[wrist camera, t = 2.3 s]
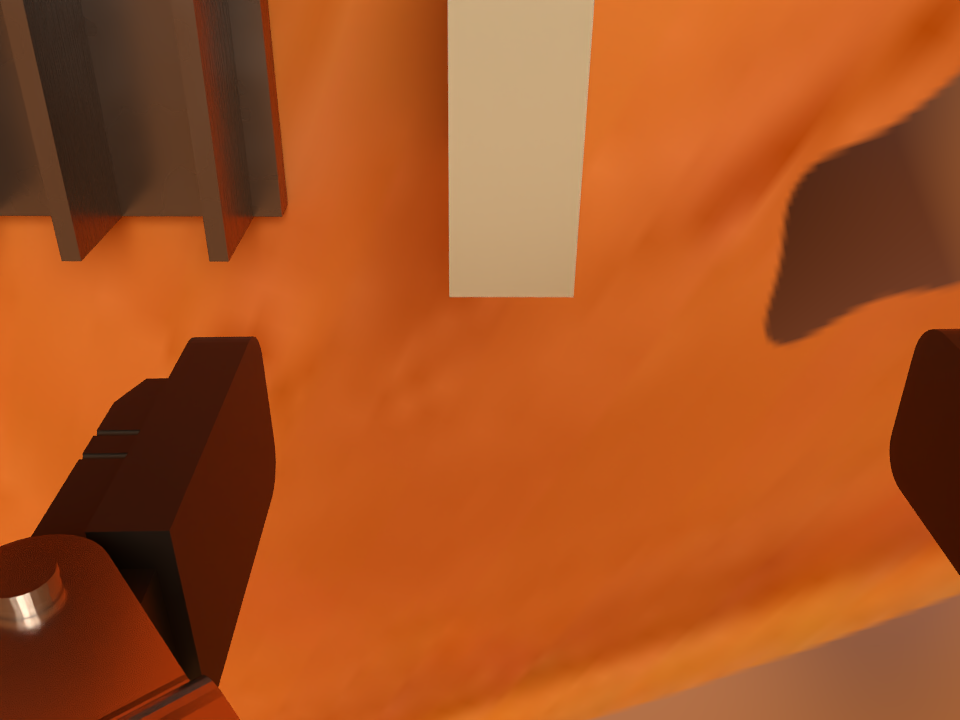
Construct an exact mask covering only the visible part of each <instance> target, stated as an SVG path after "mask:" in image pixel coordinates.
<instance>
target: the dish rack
mask: <svg viewBox="0 0 960 720" xmlns="http://www.w3.org/2000/svg"><path fill="white" fill-rule="evenodd" d="M287 205H288V204H287V194H286V184H285V174H284V164H283V153H282V143H281V133H280V123H279V113H278V103H277V92H276V82H275V72H274V62H273V52H272V42H271V31H270V21H269V11H268V1H267V0H0V216H51V217H52V221H53V226H54V230H55V234H56V238H57V243H58V247H59V251H60V255H61V260H62V261H82V260H83V259H84V258H85V256H86V255H87V254H88V253H89V252H90V251H91V250H92V249H93V248H94V247H95V246H96V244H97V243H98V242H99V241H100V240H101V239H102V238H103V237H104V236H105V235H106V233H107V232H108V231H109V230H110V229H111V228H112V227H113V226H114V225H115V224H116V223H117V221H118V220H119V219H120V218H121V217H122V216H203V221H204V227H205V234H206V241H207V248H208V254H209V261H229V260H230V258H231V256H232V255H233V253H234V251H235V249H236V247H237V246H238V244H239V242H240V240H241V238H242V237H243V235H244V233H245V231H246V229H247V228H248V226H249V224H250V222H251V220H252V219H253V217H254V216H265V217H282V216H283V213H284V211H285V209H286V207H287Z"/></svg>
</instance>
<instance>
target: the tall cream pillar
mask: <svg viewBox="0 0 960 720" xmlns="http://www.w3.org/2000/svg"><path fill="white" fill-rule="evenodd" d="M593 13H594V0H448V155H449V297H574V282H575V268H576V254H577V240H578V226H579V211H580V197H581V183H582V169H583V155H584V141H585V126H586V112H587V98H588V84H589V70H590V55H591V41H592V27H593Z"/></svg>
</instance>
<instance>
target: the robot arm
mask: <svg viewBox="0 0 960 720" xmlns="http://www.w3.org/2000/svg"><path fill="white" fill-rule="evenodd" d="M890 463H891V469H892V473H893V476H894V479H895V481H896V484H897V486H898V487H899V489H900V490H901V492H902V493H903V495H904V496H905V498H906V499H907V500H908V502H909V503H910V505H911V506H912V508H913V509H914V510H915V512H916V513H917V515H918V516H919V518H920V519H921V521H922V522H923V523H924V525H925V526H926V528H927V529H928V531H929V532H930V533H931V535H932V536H933V538H934V539H935V541H936V542H937V543H938V545H939V546H940V548H941V549H942V551H943V552H944V554H945V555H946V556H947V558H948V559H949V561H950V562H951V564H952V565H953V566H954V568H955V569H956V571H957V572H958V574H959V575H960V329H932V330H928V331H927V332H925V333H924V334H923V335H922V336H921V338H920V339H919V341H918V343H917V345H916V347H915V350H914V354H913V358H912V361H911V365H910V369H909V372H908V376H907V380H906V383H905V387H904V391H903V394H902V398H901V402H900V405H899V409H898V413H897V416H896V420H895V424H894V427H893V431H892V435H891V440H890ZM275 468H276V459H275V444H274V436H273V429H272V422H271V415H270V408H269V401H268V394H267V387H266V379H265V372H264V365H263V358H262V352H261V348H260V345H259V342H258V340H257V339H256V337H194V338H191V339H190V340H189V341H188V343H187V345H186V347H185V349H184V350H183V352H182V354H181V356H180V358H179V360H178V361H177V363H176V365H175V367H174V369H173V371H172V372H171V374H170V376H169V378H159V379H145V380H144V381H143V382H141V383H140V384H139V385H137V386H136V387H135V388H133V389H132V390H131V391H129V392H128V393H126V394H125V395H124V396H122V397H121V398H120V399H118V400H117V401H116V402H114V404H113V405H112V407H111V408H110V410H109V412H108V413H107V415H106V416H105V418H104V420H103V421H102V423H101V425H100V426H99V428H98V429H97V436H93V437H92V439H91V441H90V442H89V444H88V446H87V447H86V449H85V450H84V452H83V459H79V460H78V462H77V463H76V465H75V467H74V468H73V470H72V471H71V473H70V475H69V476H68V478H67V480H66V481H65V483H64V484H63V486H62V488H61V489H60V491H59V492H58V494H57V496H56V497H55V499H54V501H53V502H52V504H51V505H50V507H49V509H48V510H47V512H46V514H45V515H44V517H43V518H42V520H41V522H40V523H39V525H38V526H37V528H36V530H35V531H34V533H33V535H32V536H31V537H29V538H25V539H21V540H17V541H14V542H11V543H9V544H6V545H3V546H1V547H0V720H240V719H239V717H238V716H237V714H236V713H235V711H234V710H233V708H232V707H231V705H230V704H229V702H228V701H227V700H226V698H225V697H224V695H223V694H222V692H221V691H220V689H219V688H218V686H219V682H220V679H221V675H222V672H223V668H224V665H225V661H226V658H227V654H228V651H229V647H230V644H231V640H232V637H233V633H234V630H235V626H236V622H237V619H238V615H239V612H240V608H241V605H242V601H243V598H244V594H245V591H246V587H247V584H248V580H249V577H250V573H251V569H252V566H253V562H254V559H255V555H256V552H257V548H258V545H259V541H260V538H261V534H262V531H263V527H264V524H265V520H266V517H267V513H268V509H269V506H270V502H271V499H272V495H273V490H274V483H275Z"/></svg>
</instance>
